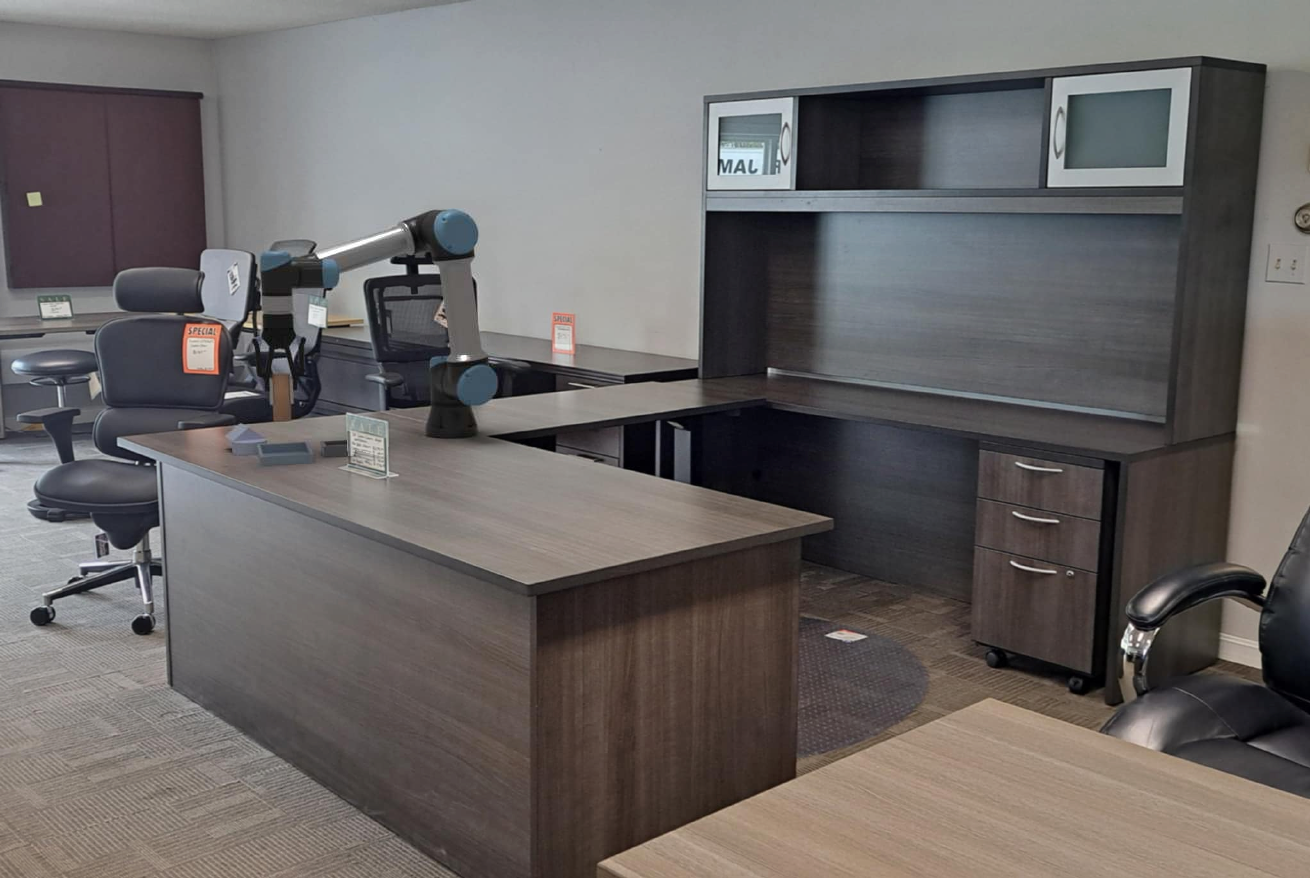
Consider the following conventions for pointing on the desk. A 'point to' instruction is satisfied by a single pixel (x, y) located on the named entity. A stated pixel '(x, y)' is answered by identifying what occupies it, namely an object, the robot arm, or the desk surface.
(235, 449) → the wedge on round base
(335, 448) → the grey square open box
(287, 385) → the dowel
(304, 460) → the tray
